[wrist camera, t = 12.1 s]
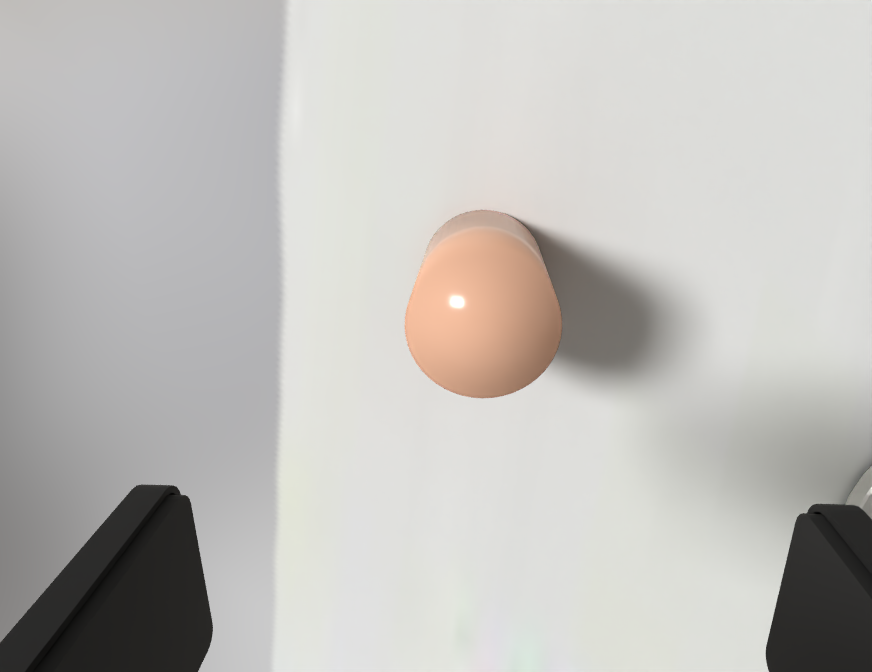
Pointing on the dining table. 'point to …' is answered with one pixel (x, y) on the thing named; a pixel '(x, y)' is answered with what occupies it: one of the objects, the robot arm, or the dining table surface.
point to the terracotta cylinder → (483, 307)
